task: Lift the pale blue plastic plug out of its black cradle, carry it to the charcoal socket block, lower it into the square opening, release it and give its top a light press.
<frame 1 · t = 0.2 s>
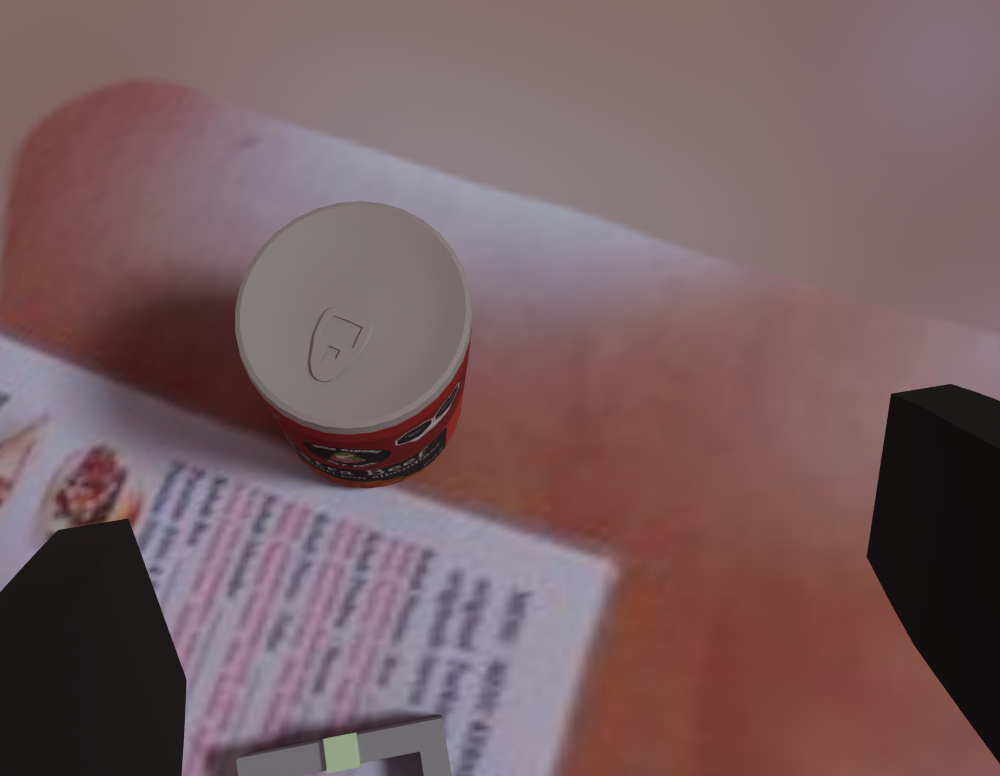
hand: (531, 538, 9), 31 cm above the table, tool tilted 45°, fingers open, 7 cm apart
canned food: (373, 402, 41), on the table
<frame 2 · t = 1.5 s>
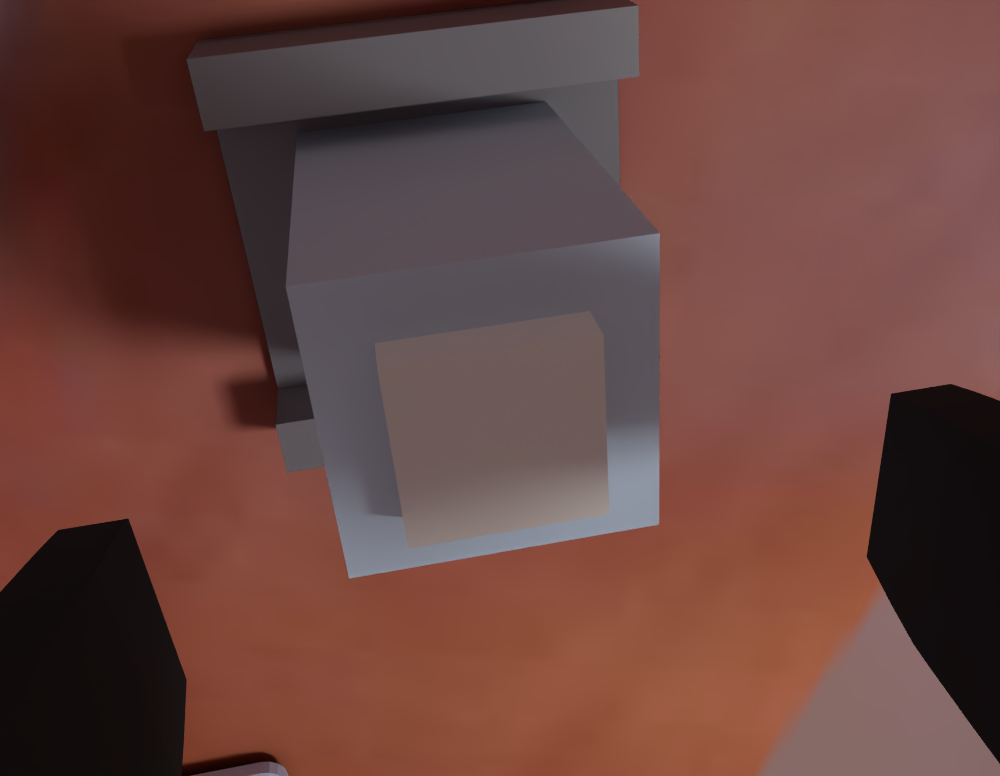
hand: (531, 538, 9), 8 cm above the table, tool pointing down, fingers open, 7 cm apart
plug: (437, 234, 16), resting on holster
holster: (436, 230, 16), on the table
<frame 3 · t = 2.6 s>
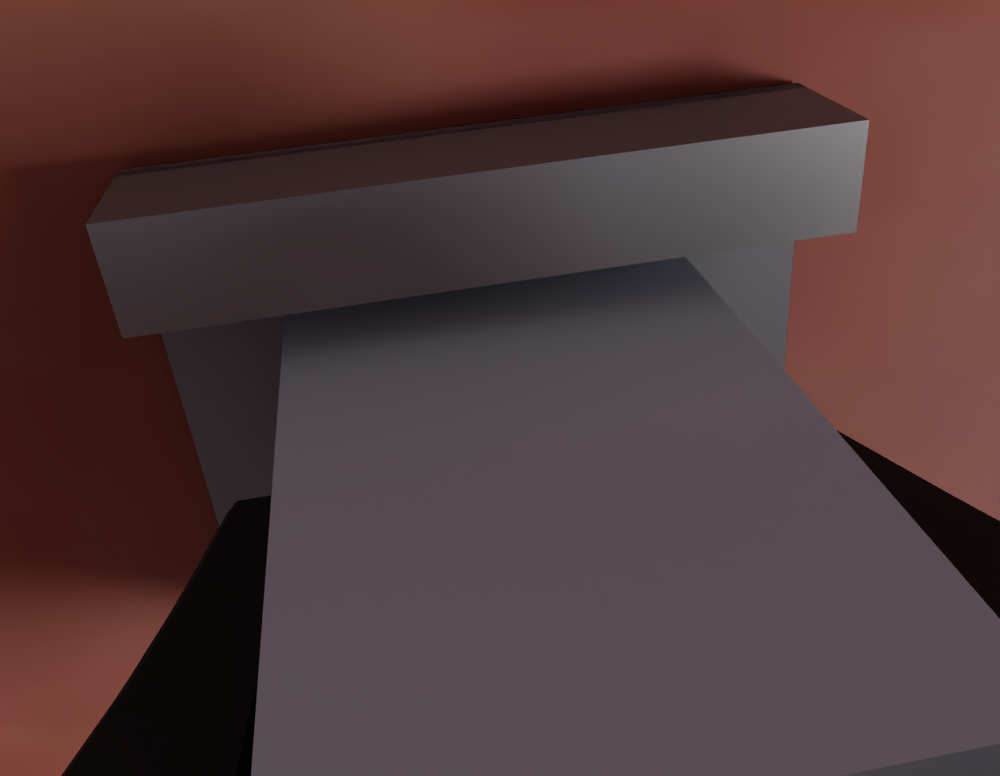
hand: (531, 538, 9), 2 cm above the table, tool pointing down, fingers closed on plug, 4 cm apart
plug: (503, 446, 10), resting on holster, touching gripper
holster: (500, 436, 11), on the table
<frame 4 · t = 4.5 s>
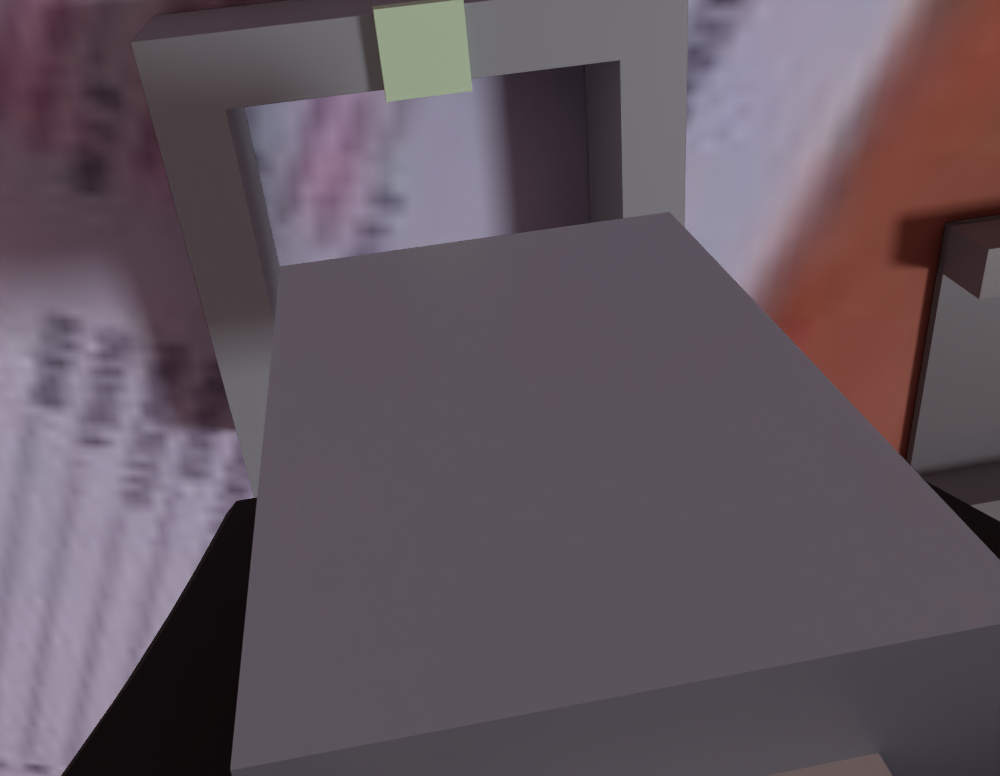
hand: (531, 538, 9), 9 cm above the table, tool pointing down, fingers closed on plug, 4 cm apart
plug: (495, 406, 11), point 7 cm above the table, touching gripper
port: (434, 218, 17), on the table
when the fingers open (3 cm above the table, at t = 6.3 s): plug drops 1 cm, resting in port.
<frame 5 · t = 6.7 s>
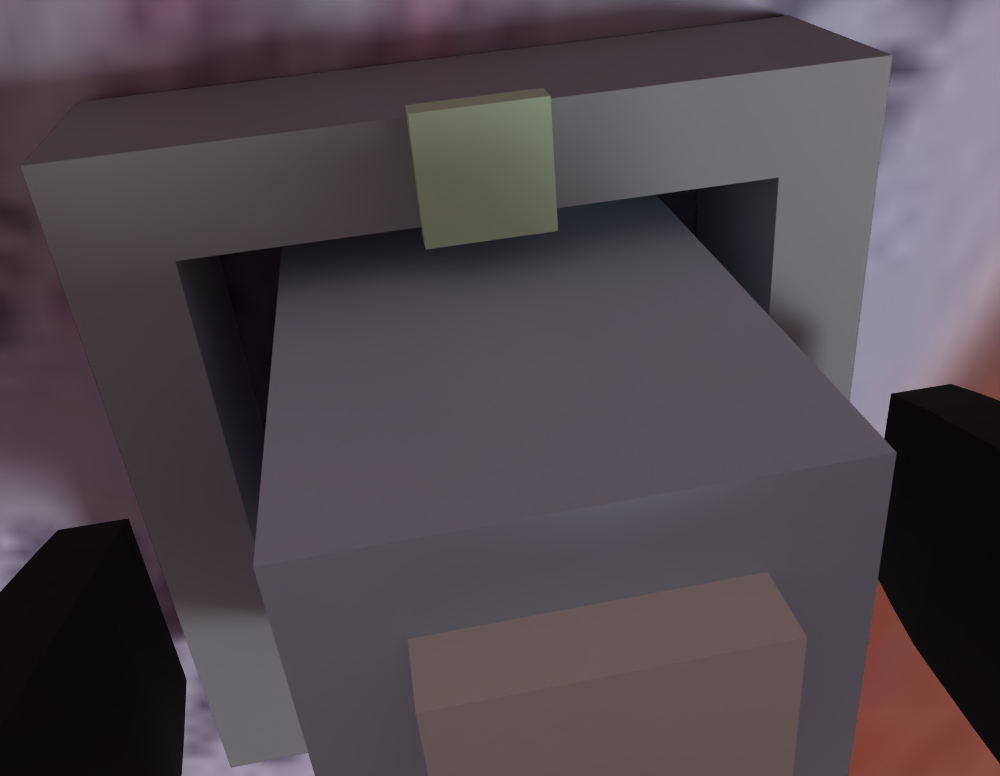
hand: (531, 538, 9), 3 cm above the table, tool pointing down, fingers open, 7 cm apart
plug: (478, 344, 12), resting in port
port: (480, 368, 12), on the table
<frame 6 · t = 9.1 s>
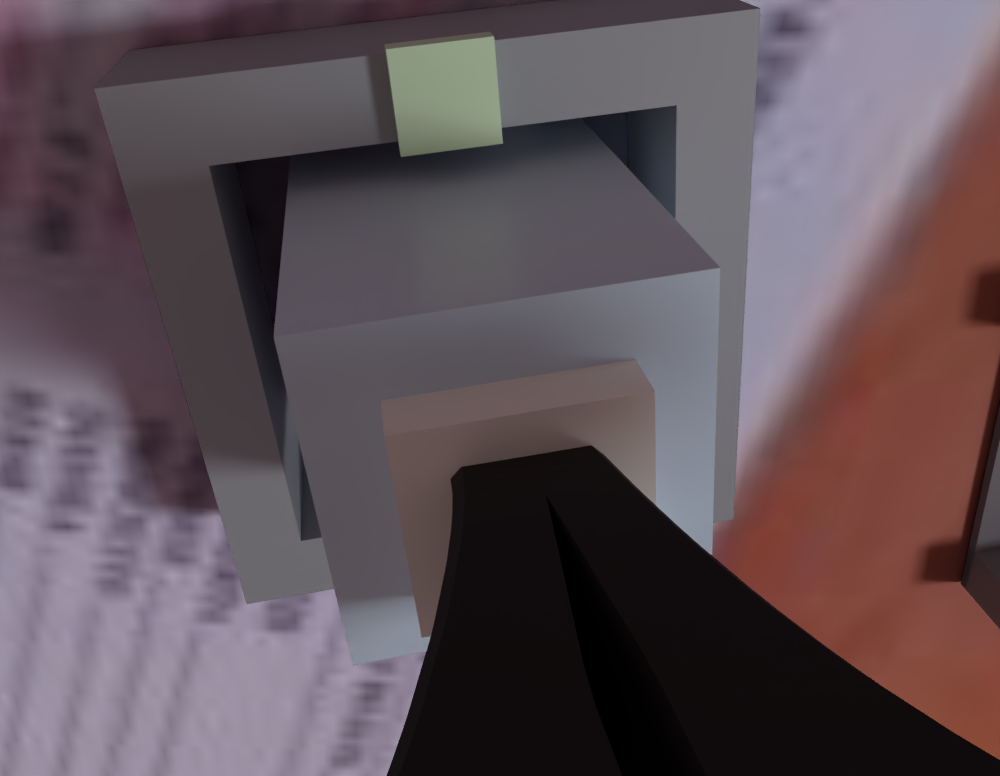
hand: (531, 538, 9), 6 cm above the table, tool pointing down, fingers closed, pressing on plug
plug: (449, 256, 15), resting in port, touching gripper
port: (452, 277, 15), on the table
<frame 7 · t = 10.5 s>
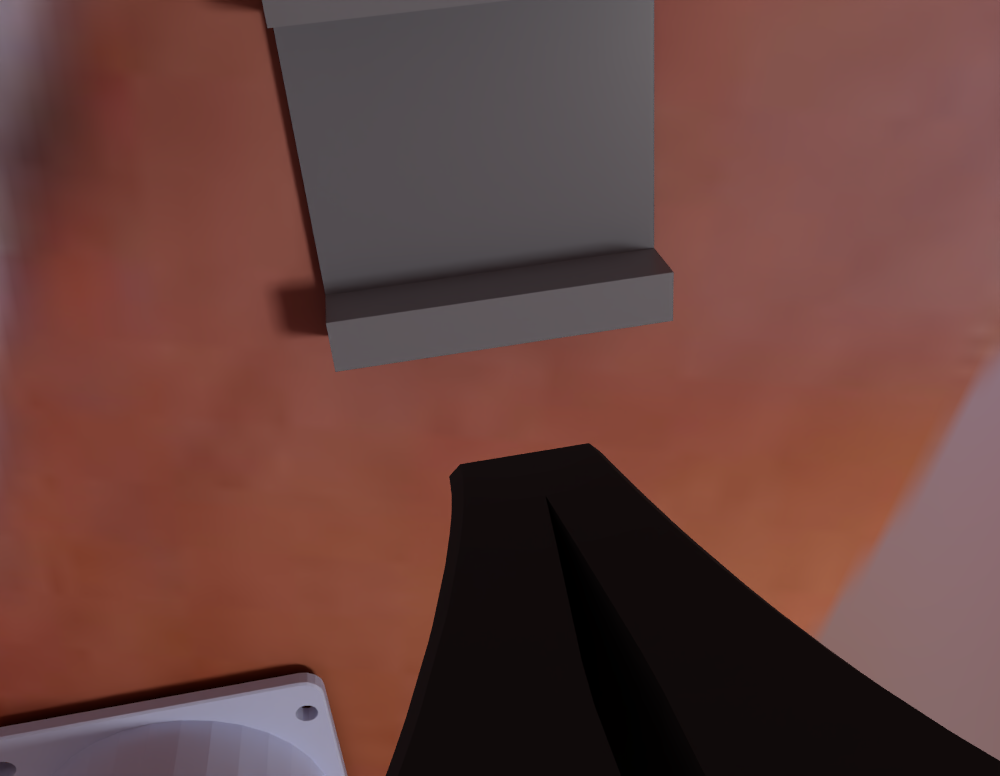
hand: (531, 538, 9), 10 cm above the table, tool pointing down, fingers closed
holster: (478, 139, 17), on the table
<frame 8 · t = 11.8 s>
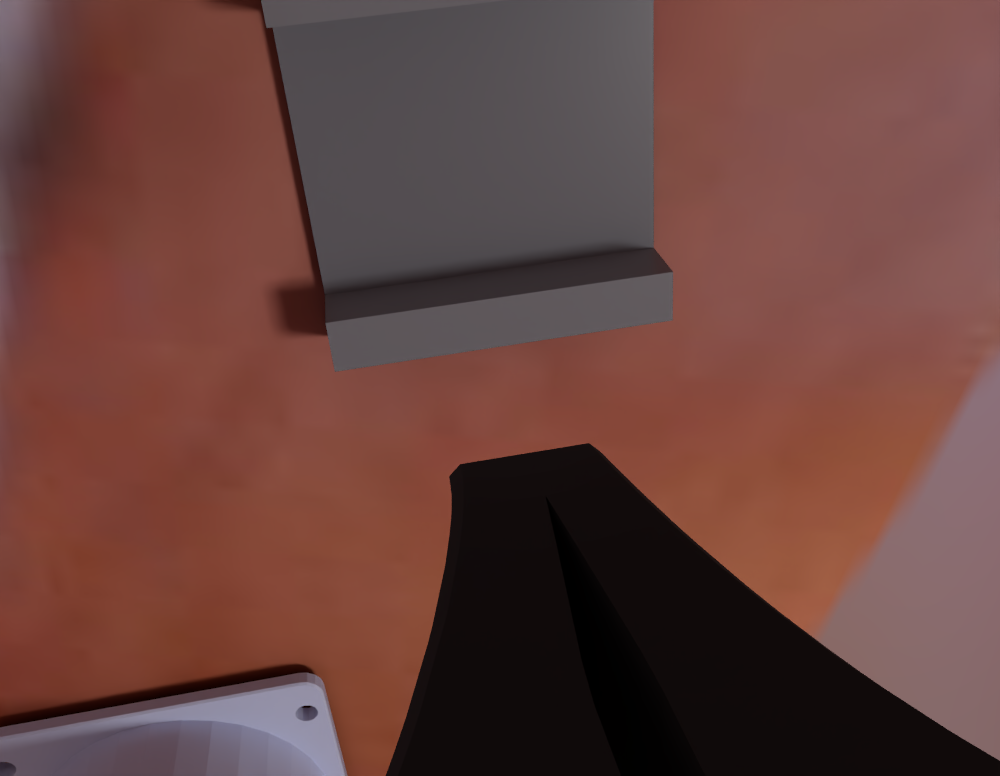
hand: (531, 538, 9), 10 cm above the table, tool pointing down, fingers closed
holster: (478, 139, 17), on the table
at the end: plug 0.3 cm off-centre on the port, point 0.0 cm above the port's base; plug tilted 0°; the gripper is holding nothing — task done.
